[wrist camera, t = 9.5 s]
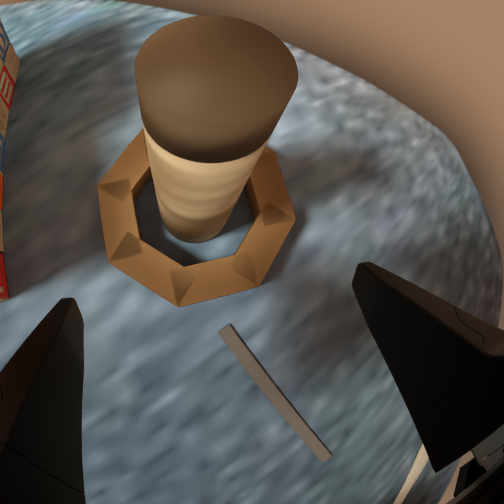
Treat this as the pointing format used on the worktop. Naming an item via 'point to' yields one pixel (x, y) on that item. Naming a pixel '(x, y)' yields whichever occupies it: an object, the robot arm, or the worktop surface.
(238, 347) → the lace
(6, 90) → the stack of blocks
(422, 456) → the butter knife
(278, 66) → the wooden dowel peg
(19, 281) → the worktop surface
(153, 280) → the faceted ring
